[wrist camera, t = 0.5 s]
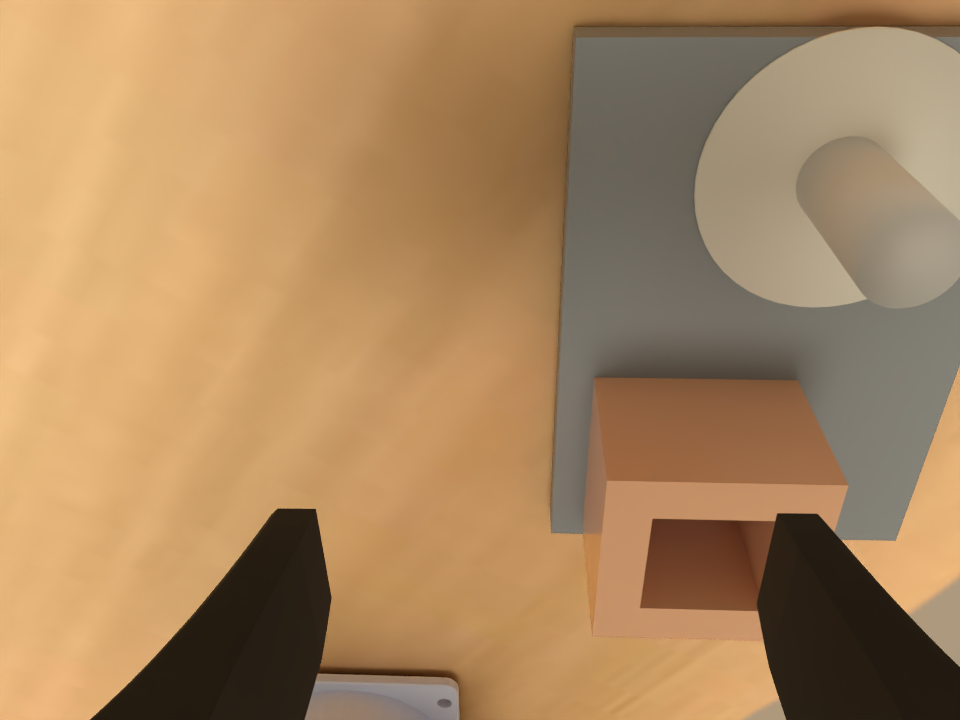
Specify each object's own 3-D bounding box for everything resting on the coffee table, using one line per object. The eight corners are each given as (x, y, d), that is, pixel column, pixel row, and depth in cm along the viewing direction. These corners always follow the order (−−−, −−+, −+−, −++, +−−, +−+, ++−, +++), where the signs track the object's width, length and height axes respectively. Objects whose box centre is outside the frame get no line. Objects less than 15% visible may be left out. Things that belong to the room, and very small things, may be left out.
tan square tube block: (762, 527, 24) (800, 641, 21) (582, 523, 25) (591, 636, 21) (797, 380, 21) (848, 485, 18) (593, 376, 22) (606, 481, 18)
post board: (883, 516, 25) (954, 656, 21) (549, 509, 26) (555, 645, 21) (1056, 15, 17) (1224, 80, 13) (573, 17, 18) (589, 80, 14)
